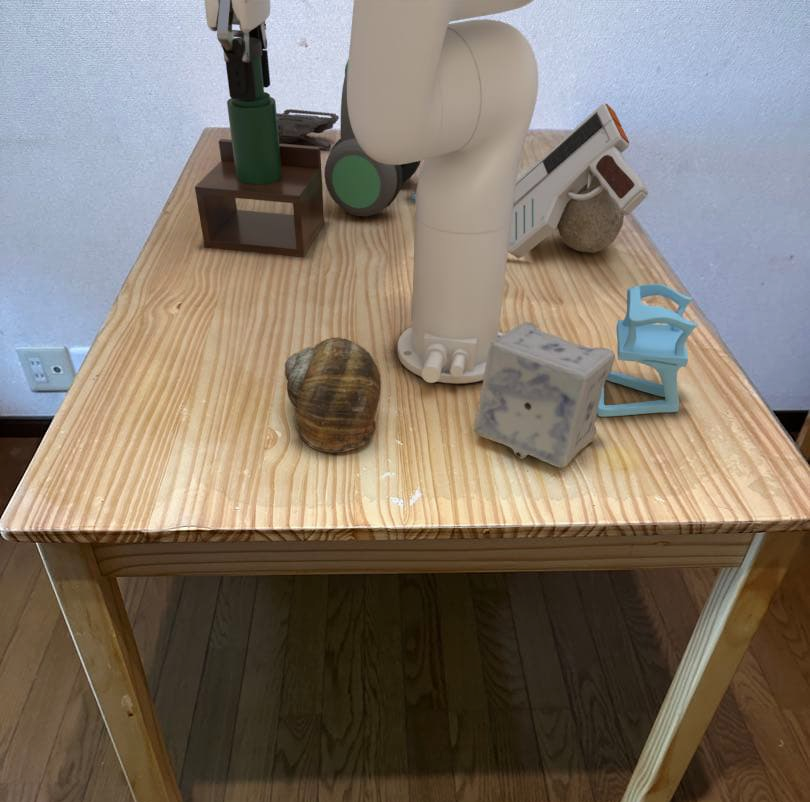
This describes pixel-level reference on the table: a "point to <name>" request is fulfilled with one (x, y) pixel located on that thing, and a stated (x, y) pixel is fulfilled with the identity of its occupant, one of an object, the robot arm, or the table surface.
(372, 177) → the headphones
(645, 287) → the chair
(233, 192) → the box
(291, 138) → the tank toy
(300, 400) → the seashell
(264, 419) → the table surface
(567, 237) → the decorative stone
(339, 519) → the table surface
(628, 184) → the futuristic handgun
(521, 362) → the incense holder
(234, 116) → the bottle
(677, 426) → the table surface
